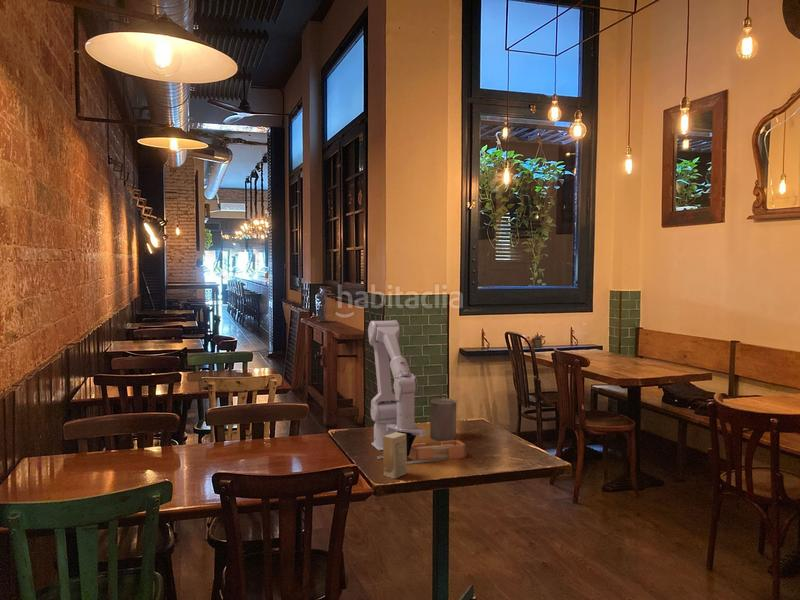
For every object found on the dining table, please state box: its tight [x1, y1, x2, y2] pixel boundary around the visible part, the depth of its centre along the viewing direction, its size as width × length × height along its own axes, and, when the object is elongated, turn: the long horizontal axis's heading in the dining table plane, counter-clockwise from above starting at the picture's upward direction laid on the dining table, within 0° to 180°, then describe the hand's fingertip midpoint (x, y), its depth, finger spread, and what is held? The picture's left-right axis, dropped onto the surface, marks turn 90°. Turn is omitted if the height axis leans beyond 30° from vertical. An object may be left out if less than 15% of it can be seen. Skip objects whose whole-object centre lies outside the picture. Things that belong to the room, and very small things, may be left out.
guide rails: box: [376, 455, 449, 465], centre depth 202 cm, size 9×21×1 cm, turn 109°
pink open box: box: [440, 439, 467, 460], centre depth 207 cm, size 7×6×4 cm
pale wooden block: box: [417, 444, 455, 458], centre depth 204 cm, size 4×14×4 cm, turn 110°
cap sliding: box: [407, 442, 433, 461], centre depth 203 cm, size 7×6×4 cm
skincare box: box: [382, 432, 408, 480], centre depth 185 cm, size 6×4×12 cm
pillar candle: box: [429, 396, 457, 441], centre depth 230 cm, size 10×10×15 cm
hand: (405, 455), depth 201 cm, fingers closed
